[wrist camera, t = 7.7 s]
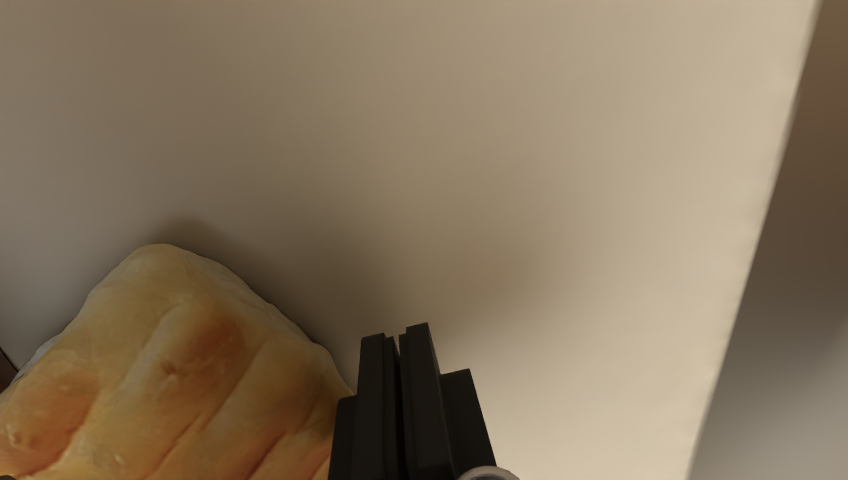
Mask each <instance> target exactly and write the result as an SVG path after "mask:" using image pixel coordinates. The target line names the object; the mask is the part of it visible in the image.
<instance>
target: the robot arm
mask: <svg viewBox="0 0 848 480" xmlns="http://www.w3.org/2000/svg"><path fill="white" fill-rule="evenodd" d="M399 347H400V356H399V353H398V350H397V346H396V343H395V340H394V337H393V336H392V337H388V338H386V336H385V334H384V333H379V334H375V335H371V336H367V337H362V339H361V350H360V362H359V375H358V387H357V394H356V395H352V396H348V397H343V398H340V399H339V401H338V405H337V412H336V419H335V427H334V434H333V442H332V449H331V457H330V464H329V472H328V479H327V480H520V479H519V478H518V477H516V476H515V475H514V474H512V473H511V472H510V471H508V470H505V469H502V468H500V467H497V465H496V461H495V458H494V454H493V451H492V447H491V443H490V440H489V436H488V433H487V429H486V425H485V422H484V418H483V415H482V411H481V408H480V404H479V400H478V397H477V393H476V390H475V386H474V383H473V379H472V375H471V372H470V369H469V368H468V369H464V370H459V371H455V372H451V373H446V374H442V375H441V374H440V370H439V366H438V362H437V358H436V354H435V350H434V346H433V342H432V338H431V334H430V330H429V326H428V323H427V322H426V323H422V324H418V325H414V326H409V327H406V333H405V334H401V335H399Z"/></svg>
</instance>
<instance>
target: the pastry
mask: <svg viewBox="0 0 848 480" xmlns="http://www.w3.org/2000/svg"><path fill="white" fill-rule="evenodd" d="M352 395H355V394H354V393H353V392H352V391H351V390H350V388H349V387H348V386H347V384H346V383H345V382H344V380H343V379H342V377H341V375H340V374H339V372H338V370H337V368H336V366H335V364H334V361H333V358H332V356H331V354H330V353H329V352H328V351H327V350H326V349H325V348H324V347H323V346H321V345H319V344H316V343H312V342H311V340H310V339H309V337H308V336H307V335H305V333H304V332H303V331H302V330H301V329H300V327H299V326H298V325H297V324H295V323H294V322H293V321H291V320H290V319H288V318H287V317H286V316H284V315H283V314H282V313H281V312H280V311H279V309H278V308H277V307H276V306H274V305H273V304H269V303H267V302H265V301H264V300H263V299H262V298H261V297H260V296H259V295H257V294H256V293H254V292H253V291H252V290H251V289H250V288H249V287H248V285H247V284H246V283H245V282H244V281H243V280H242V279H241V278H239V277H238V276H236V275H235V274H234V273H233V272H232V271H230V270H229V269H228V268H226V267H225V266H223V265H222V264H220V263H218V262H216V261H214V260H212V259H209V258H205V257H202V256H198V255H196V254H194V253H193V252H190V251H187V250H183V249H181V248H179V247H176V246H174V245H171V244H166V243H161V244H150V245H145V246H142V247H139V248H137V249H136V250H134V251H133V252H132V253H131V254H129V255H128V256H127V257H126V258H125V259H124V260H123V261H122V262H121V263H120V264H119V265H118V266H117V267H115V268H114V269H113V270H112V271H111V272H110V273H109V274H108V275H107V276H106V277H105V278H104V279H103V280H102V281H101V282H100V283H99V284H98V285H96V286H95V287H94V288H93V289H92V290H91V292H90V293H89V294H88V296H87V298H86V301H85V304H84V305H83V307H82V308H81V310H80V312H79V313H78V315H77V316H76V317H75V318H74V319H73V320H72V321H71V322H70V323H69V324H68V325H67V327H66V328H65V329H64V331H63V332H62V333H60V334H58V335H56V336H54V337H53V338H51V339H49V340H48V341H47V342H45V343H44V344H42V345H41V346H40V347H39V348H38V349H37V351H36V352H35V354H34V355H33V356H32V358H31V359H30V360H29V361H28V362H27V363H26V364H24V366H23V367H22V368H21V370H20V371H19V372H18V374H17V375H16V376H15V378H14V379H13V381H12V382H11V384H10V385H9V386H8V387H7V388H6V389H5V390H4V391H3V392H2V393H1V394H0V476H2V475H10V476H12V477H14V478H15V479H17V480H327V479H328V472H329V464H330V457H331V449H332V442H333V434H334V427H335V419H336V412H337V405H338V401H339V399H340V398H343V397H348V396H352Z"/></svg>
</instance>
